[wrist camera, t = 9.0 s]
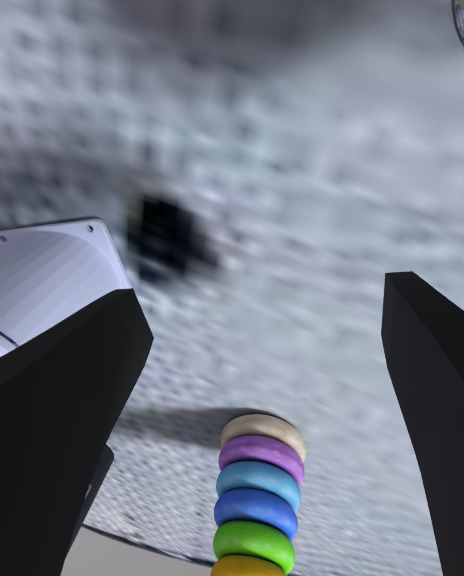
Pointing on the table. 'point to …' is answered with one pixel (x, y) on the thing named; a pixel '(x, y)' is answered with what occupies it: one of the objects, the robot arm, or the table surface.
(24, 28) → the table surface
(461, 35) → the wine glass
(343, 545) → the table surface
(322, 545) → the table surface
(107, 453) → the wine bottle
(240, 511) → the stacking toy
